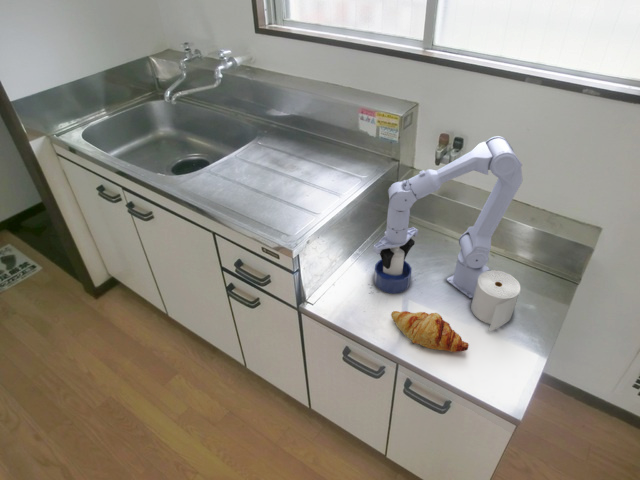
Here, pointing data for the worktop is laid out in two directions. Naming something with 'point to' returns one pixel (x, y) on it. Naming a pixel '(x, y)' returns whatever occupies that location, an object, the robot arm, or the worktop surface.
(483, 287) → the toilet tissue
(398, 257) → the eye dropper bottle
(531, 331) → the worktop surface
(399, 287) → the blue bowl
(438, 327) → the croissant
